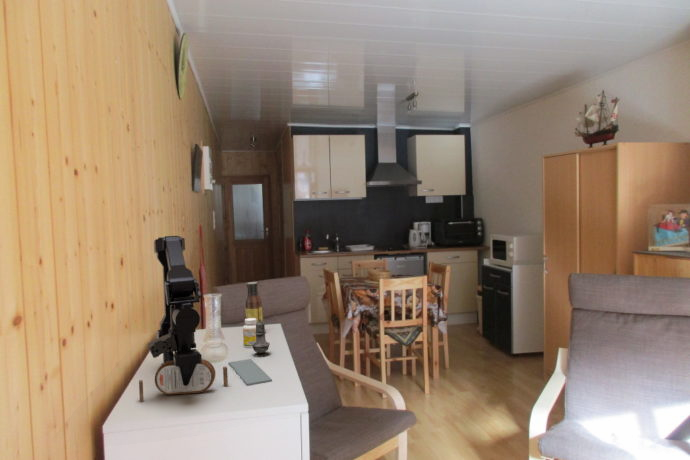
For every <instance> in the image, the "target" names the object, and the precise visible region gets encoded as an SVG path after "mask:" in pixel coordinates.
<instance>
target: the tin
mask: <svg viewBox="0 0 690 460" xmlns="http://www.w3.org/2000/svg"><path fill="white" fill-rule="evenodd" d="M173 361H174V360H172V361H167V362H165V363H163V362H162V363H163V364H162V363H161V364H162V365H161V364H160V366H159V367H158V368H157V370H156V372H155V375H154V384H155V387H156V388H157V390H158V391H160V392H161V393H162V394H165V395H169V396H170V395H182V394H183V395H186V394H199V393H204V392H206V391H207V390H209V388H211V386H212V384H213V383H214V382H215V380H216V379H215V378H216V370H215V367H214V365H213V364H212V363H211V362H210V361H209V360H207V359H203V358H202V363H199V364H197V365H196V367H195V369H194V372H193V374H192V377H191V379H190V382H189V384H188V385H187V386H184V385H183V381H182V377H181V373H180V368H179V367H176V366H175V365H174V363H173Z"/></svg>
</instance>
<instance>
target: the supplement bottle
mask: <svg viewBox="0 0 690 460" xmlns="http://www.w3.org/2000/svg"><path fill="white" fill-rule="evenodd" d="M256 322H257V321H256V318H247V319H246V318H245V319H244V325H243V327H242V334H243V340H242V341H243V347H244V348H245V349H253V346H252V344H253V343H255V342H256V334H255V332H256Z"/></svg>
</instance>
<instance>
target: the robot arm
mask: <svg viewBox="0 0 690 460" xmlns="http://www.w3.org/2000/svg"><path fill="white" fill-rule="evenodd" d="M153 251H154V254H156V259H157V261H158V262H159V263H160V265H161V266H162V282H163V283H162V284H163V304H164V305H163V307H164V311H163V312H164V314H163V317H162V318H161V320H160V322H159V329H157V336H156V339H154V340H151V341H150V342H148V343H147V347H148V350H149V351H150V354H151V356H152V358H153V359H157V358H158V357H160V355H162V360H163V361H162V363H161V364H160V366H161V365H162V364H163V363H165V362H167V361H172V360H174V361H173V363H174V365H175V366H176V367H179V368H180V373H181V377H182V381H183V385H184V386H187V385H188V384H189V382H190V379H191V377H192V374H193V372H194V369H195V367H196V365H197V364H199V363H202V359H203V357H202V353H201V352H200V351H199V350H198V349H197V343H196V340H195V339H196V338H195V333H196V328H198V326H199V325H200V321H201V316H200V313H199V312H198V311H197V310H196V308H195V307H194V304H195V303H200V301H201V300H200V299H201V296H202V295H201V289H200V285H199V282H198V280H197V279H196V278H194V274H193V272H192V270H191V269H189V268H188V267H186V266H187V265H186V261H185V257H184V253H183V252H185V251H186V239H185V238H184V237H182V236H179V235H165V236H160V237H157V238H156V239H154V241H153Z"/></svg>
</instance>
